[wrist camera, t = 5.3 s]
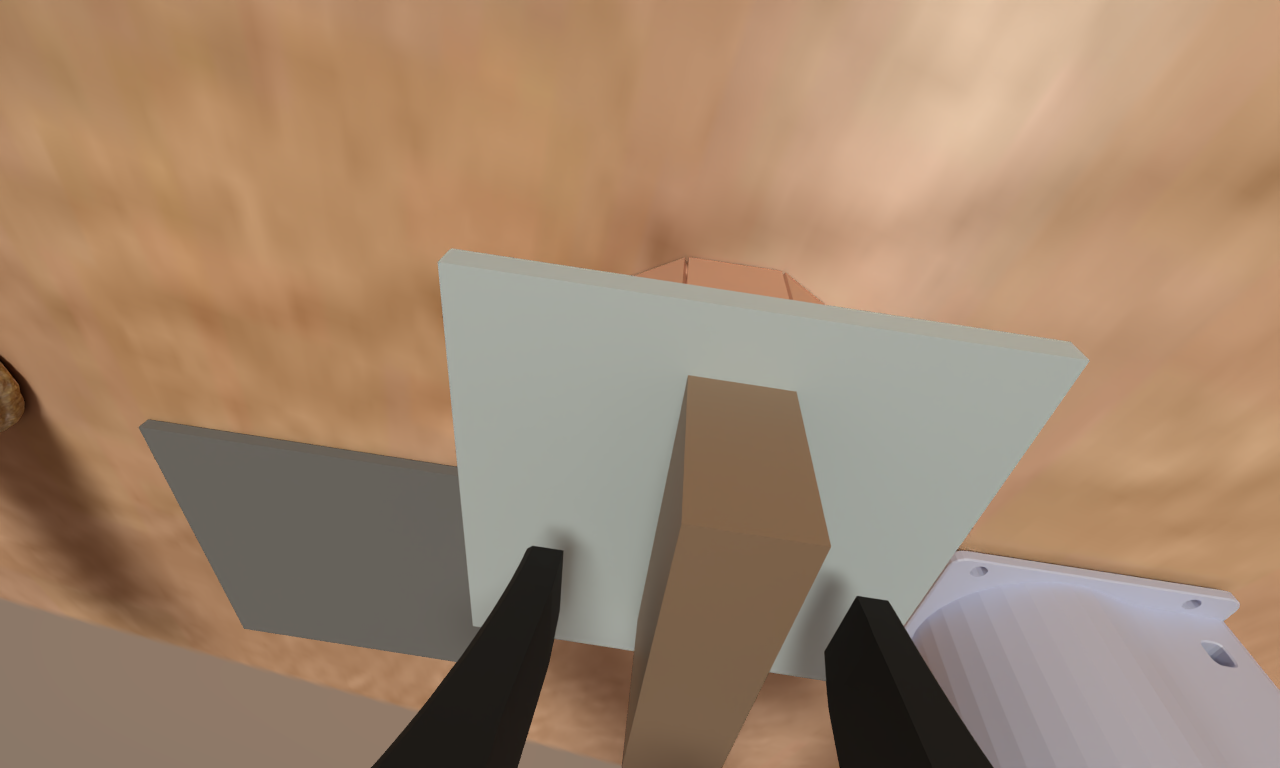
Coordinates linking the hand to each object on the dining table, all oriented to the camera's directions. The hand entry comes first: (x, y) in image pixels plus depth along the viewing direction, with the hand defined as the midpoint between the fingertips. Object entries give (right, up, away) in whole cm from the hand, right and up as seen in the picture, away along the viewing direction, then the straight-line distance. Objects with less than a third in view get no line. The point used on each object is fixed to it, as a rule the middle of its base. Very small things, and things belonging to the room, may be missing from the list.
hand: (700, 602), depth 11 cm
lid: (0, +1, +2) cm, 2 cm away
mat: (-12, -3, +11) cm, 17 cm away
